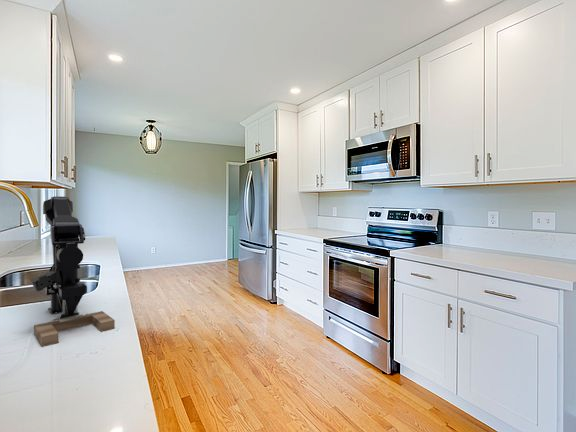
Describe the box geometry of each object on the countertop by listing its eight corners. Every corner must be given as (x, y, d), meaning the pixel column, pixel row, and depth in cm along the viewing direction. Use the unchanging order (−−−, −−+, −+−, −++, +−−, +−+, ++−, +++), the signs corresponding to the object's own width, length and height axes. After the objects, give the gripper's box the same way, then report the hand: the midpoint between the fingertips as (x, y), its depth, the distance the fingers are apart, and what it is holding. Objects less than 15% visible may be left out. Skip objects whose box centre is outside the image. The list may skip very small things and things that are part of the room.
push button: (51, 327, 92) (51, 293, 92) (55, 321, 97) (55, 289, 97) (79, 323, 95) (78, 291, 95) (81, 318, 100) (80, 287, 100)
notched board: (34, 334, 87) (34, 323, 87) (102, 318, 100) (102, 309, 99) (41, 346, 80) (41, 335, 79) (114, 328, 92) (114, 318, 92)
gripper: (27, 261, 96) (28, 311, 96) (39, 270, 83) (39, 328, 84) (70, 257, 104) (71, 303, 105) (87, 264, 91) (87, 317, 92)
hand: (67, 312), depth 96 cm, fingers open, 7 cm apart
